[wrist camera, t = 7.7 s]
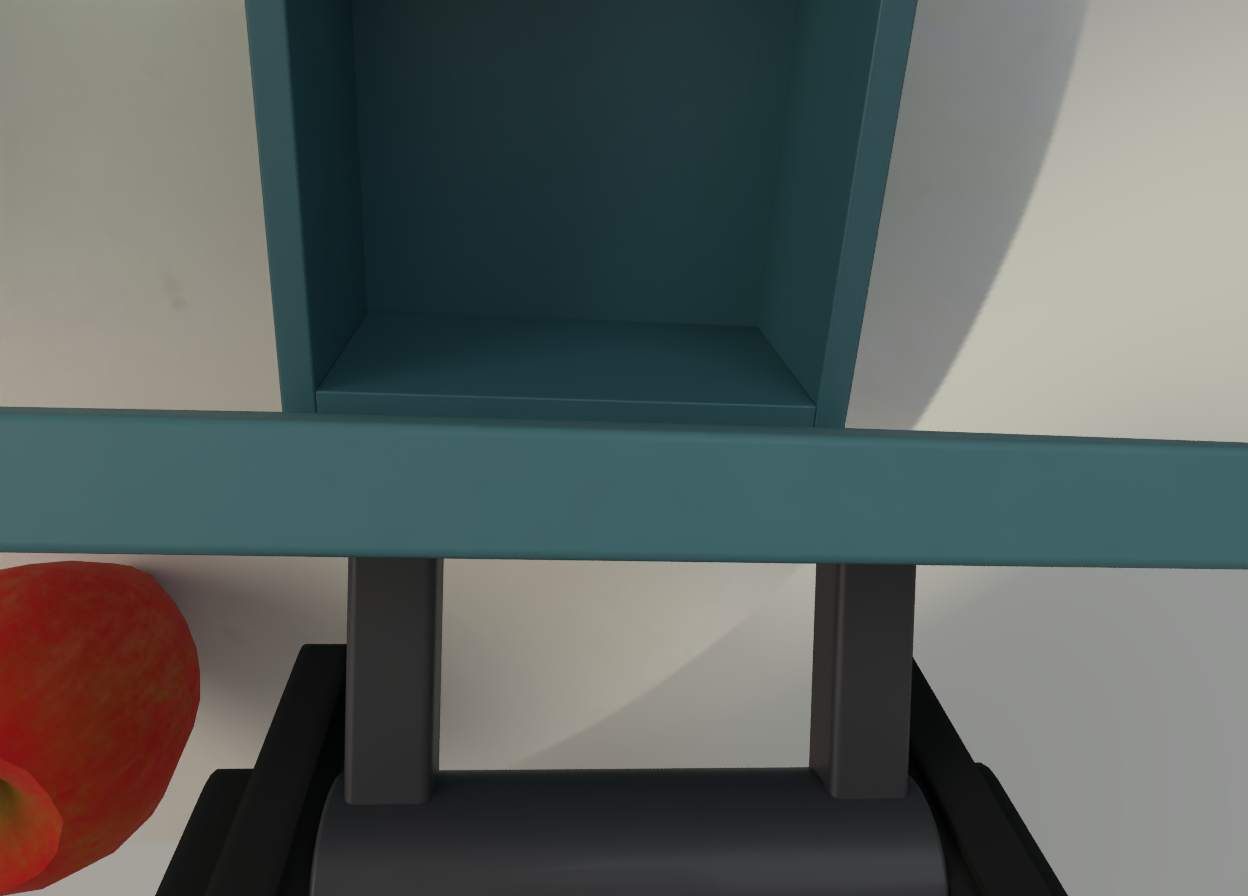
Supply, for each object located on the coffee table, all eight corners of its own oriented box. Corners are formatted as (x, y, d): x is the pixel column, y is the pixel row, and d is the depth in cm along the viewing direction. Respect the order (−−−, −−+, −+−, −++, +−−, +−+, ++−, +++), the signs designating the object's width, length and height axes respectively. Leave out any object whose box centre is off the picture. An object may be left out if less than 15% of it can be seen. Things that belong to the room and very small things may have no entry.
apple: (-56, 514, 30) (-346, 743, 20) (196, 458, 30) (26, 661, 20) (62, 715, 34) (-137, 993, 24) (287, 666, 34) (181, 925, 24)
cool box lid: (-588, 395, 5) (-580, 1277, 5) (1685, 458, 6) (1641, 1155, 6) (277, 412, 21) (274, 618, 21) (849, 428, 23) (842, 622, 23)
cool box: (310, -288, 23) (202, -440, 15) (849, -234, 24) (978, -350, 17) (347, 328, 29) (282, 422, 22) (772, 343, 30) (843, 437, 23)
